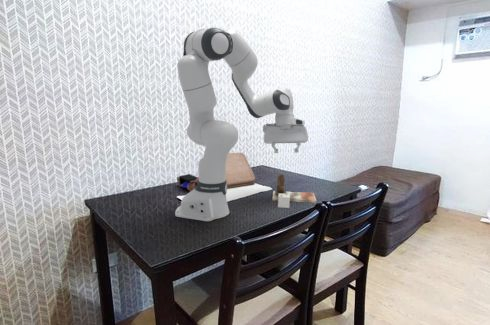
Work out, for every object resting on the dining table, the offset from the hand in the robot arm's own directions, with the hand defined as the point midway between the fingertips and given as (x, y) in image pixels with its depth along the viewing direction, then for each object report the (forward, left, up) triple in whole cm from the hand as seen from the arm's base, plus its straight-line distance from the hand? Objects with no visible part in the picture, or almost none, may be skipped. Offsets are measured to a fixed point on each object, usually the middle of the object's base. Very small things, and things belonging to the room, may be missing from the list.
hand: (286, 152), depth 136 cm
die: (0, -7, -23) cm, 24 cm away
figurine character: (-50, +10, -24) cm, 56 cm away
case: (-29, +26, -24) cm, 46 cm away
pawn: (-2, +5, -22) cm, 22 cm away
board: (+5, +5, -23) cm, 24 cm away
